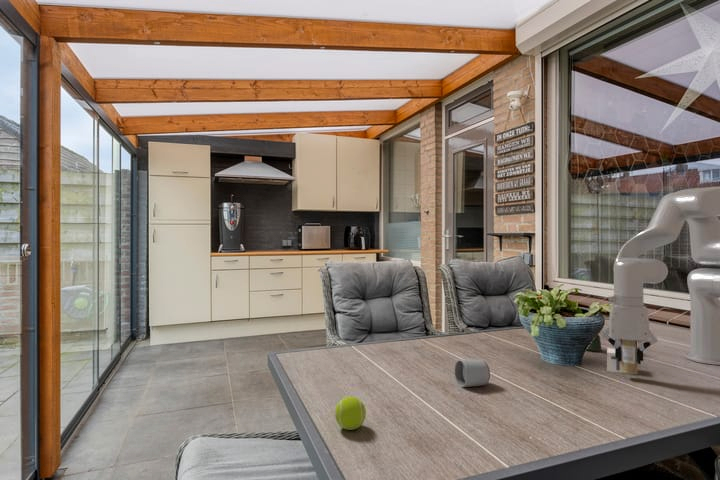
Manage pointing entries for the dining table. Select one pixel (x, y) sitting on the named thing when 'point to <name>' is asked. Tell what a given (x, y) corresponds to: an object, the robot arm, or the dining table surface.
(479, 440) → the dining table surface
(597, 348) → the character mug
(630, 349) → the sprinkles bottle
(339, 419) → the tennis ball
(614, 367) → the lettered cube
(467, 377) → the ceramic mug
